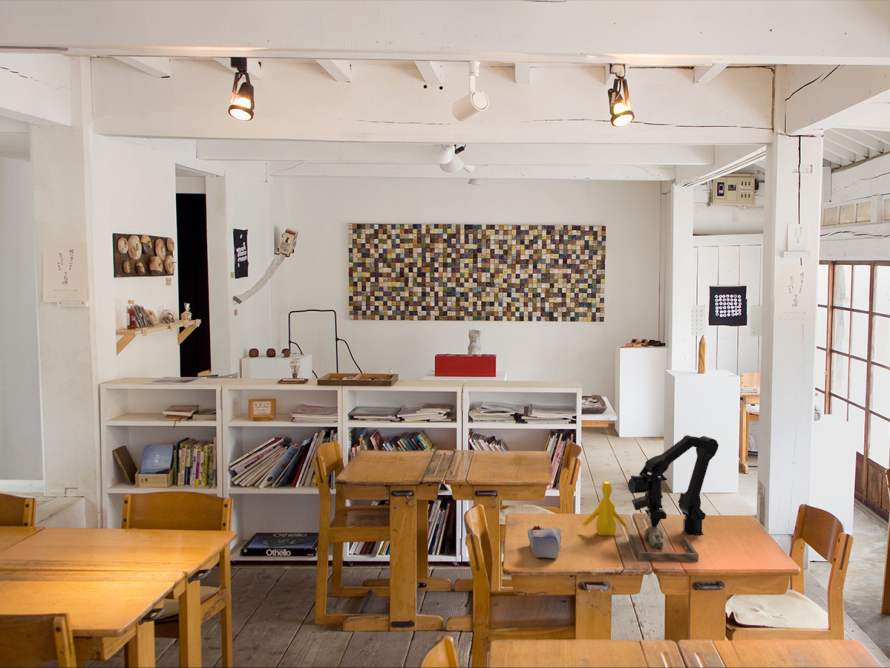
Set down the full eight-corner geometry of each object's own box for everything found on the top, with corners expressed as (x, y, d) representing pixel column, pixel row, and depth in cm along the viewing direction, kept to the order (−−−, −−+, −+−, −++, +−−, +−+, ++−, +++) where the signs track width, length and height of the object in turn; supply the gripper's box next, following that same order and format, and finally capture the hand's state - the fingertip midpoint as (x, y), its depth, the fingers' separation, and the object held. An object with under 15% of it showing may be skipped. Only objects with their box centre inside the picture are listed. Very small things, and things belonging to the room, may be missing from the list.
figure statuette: (625, 531, 306) (626, 478, 305) (629, 537, 298) (630, 483, 297) (581, 530, 307) (582, 478, 305) (584, 537, 299) (585, 483, 298)
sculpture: (669, 552, 284) (660, 536, 299) (669, 540, 284) (660, 524, 299) (650, 553, 285) (642, 536, 300) (650, 541, 284) (642, 525, 299)
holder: (684, 541, 294) (684, 535, 293) (698, 561, 273) (698, 554, 273) (629, 540, 295) (629, 534, 295) (638, 559, 275) (638, 553, 274)
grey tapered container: (530, 532, 273) (526, 516, 293) (530, 561, 274) (526, 543, 294) (566, 532, 273) (560, 516, 293) (566, 561, 273) (560, 543, 293)
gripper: (629, 484, 309) (629, 521, 310) (637, 497, 290) (637, 537, 291) (657, 485, 308) (656, 522, 309) (667, 498, 290) (666, 537, 291)
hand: (653, 529), depth 300 cm, fingers closed
